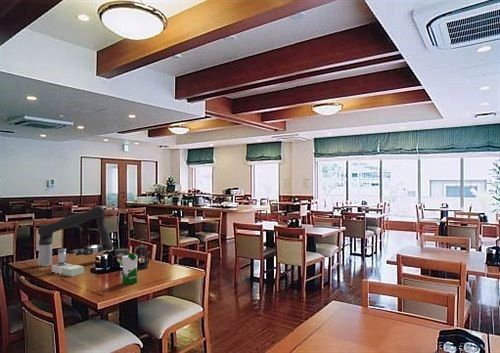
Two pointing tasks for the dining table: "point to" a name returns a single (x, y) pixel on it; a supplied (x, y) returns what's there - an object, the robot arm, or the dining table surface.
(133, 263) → the milk carton
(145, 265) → the french press
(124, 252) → the coffee can
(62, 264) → the cylinder
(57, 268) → the stand
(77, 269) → the stand
